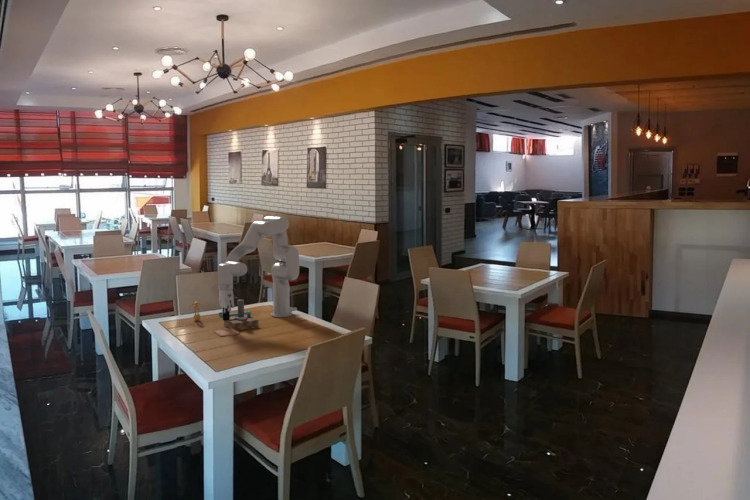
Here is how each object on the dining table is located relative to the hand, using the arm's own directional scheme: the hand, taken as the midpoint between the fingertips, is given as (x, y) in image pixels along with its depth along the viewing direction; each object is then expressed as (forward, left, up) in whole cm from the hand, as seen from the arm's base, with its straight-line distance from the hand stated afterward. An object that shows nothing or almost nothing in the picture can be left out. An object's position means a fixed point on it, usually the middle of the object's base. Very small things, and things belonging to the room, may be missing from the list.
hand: (226, 320), depth 307 cm
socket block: (-9, -1, -5) cm, 10 cm away
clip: (-7, -4, +1) cm, 8 cm away
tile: (+3, +8, -5) cm, 10 cm away
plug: (-9, -1, -5) cm, 10 cm away
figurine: (+7, -25, -5) cm, 27 cm away
